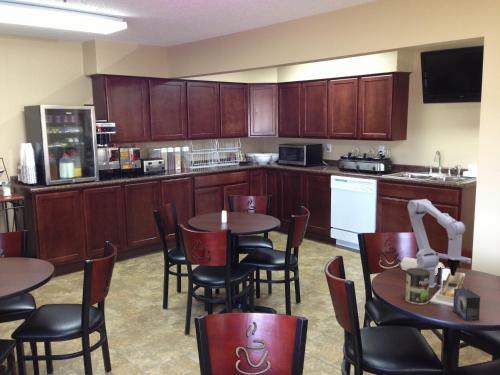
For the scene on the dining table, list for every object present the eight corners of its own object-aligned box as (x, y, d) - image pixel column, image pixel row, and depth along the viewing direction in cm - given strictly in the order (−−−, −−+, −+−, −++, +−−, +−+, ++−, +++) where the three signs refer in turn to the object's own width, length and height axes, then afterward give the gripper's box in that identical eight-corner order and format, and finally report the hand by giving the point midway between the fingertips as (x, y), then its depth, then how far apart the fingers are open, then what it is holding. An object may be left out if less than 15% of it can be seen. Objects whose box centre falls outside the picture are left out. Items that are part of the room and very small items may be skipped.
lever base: (429, 302, 213) (430, 290, 212) (442, 286, 233) (443, 275, 232) (459, 308, 205) (460, 296, 204) (470, 292, 225) (471, 280, 224)
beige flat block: (435, 299, 214) (436, 294, 214) (440, 294, 220) (440, 289, 220) (456, 303, 209) (456, 298, 209) (460, 298, 215) (460, 293, 215)
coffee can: (433, 302, 213) (435, 272, 211) (417, 306, 208) (418, 276, 206) (416, 294, 222) (417, 266, 220) (400, 298, 217) (401, 269, 215)
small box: (451, 310, 203) (453, 288, 202) (465, 310, 204) (467, 287, 202) (464, 321, 193) (466, 297, 191) (479, 320, 193) (481, 296, 192)
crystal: (397, 264, 257) (443, 271, 244) (400, 255, 262) (446, 262, 249) (398, 273, 261) (444, 281, 248) (402, 264, 266) (446, 271, 253)
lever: (441, 298, 219) (441, 289, 217) (450, 277, 231) (450, 269, 229) (457, 301, 215) (457, 293, 213) (465, 280, 227) (465, 272, 225)
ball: (446, 292, 217) (445, 298, 216) (445, 290, 215) (444, 296, 214) (453, 293, 215) (451, 299, 214) (452, 291, 213) (450, 297, 212)
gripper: (436, 246, 218) (434, 274, 220) (469, 251, 210) (467, 280, 212) (440, 243, 224) (438, 270, 226) (472, 248, 215) (470, 276, 217)
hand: (453, 275), depth 219 cm, fingers closed
